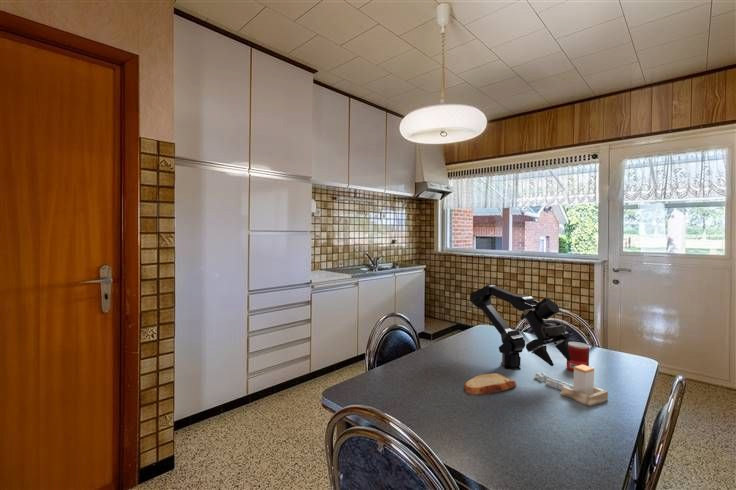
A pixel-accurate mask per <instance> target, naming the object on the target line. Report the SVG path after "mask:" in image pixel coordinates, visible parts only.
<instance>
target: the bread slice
mask: <svg viewBox="0 0 736 490" xmlns="http://www.w3.org/2000/svg"><path fill="white" fill-rule="evenodd" d="M516 386H517V382H516V381H515V380H513V379H510V378H507V377H506V376H504V375H502V374H500V373H497V372H494V373H485V374H480V375H477V376H474V377H473V378H471V379H469V380H467V381H466V382H465V384H464V387H463V388H464V392H465V393H467V394H470V395H487V394H494V393H499V392H505V391H507V390H510V389H511V388H512V389H513V388H515V387H516Z"/></svg>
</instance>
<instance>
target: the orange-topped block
mask: <svg viewBox="0 0 736 490" xmlns="http://www.w3.org/2000/svg"><path fill="white" fill-rule="evenodd" d="M594 383H595V368H594V367H591V366H590V365H589V366H586V365H583V364H582V365H578V366H575V367H574V372H573V390H576V391H578V392H581V393H583V394H585V395H588V396H589V395H592V394H594V387H595V384H594Z"/></svg>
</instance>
